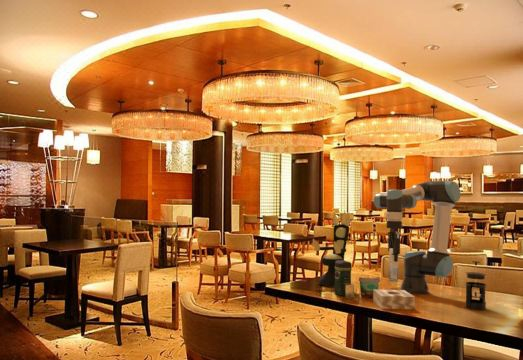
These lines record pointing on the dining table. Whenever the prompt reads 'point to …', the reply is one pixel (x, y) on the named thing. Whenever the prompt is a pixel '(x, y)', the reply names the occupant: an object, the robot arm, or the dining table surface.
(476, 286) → the french press
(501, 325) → the dining table surface
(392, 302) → the tissue box
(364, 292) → the food container
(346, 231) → the dark tall irregular piece
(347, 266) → the coffee jar
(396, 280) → the steel pin
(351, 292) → the brass pin
